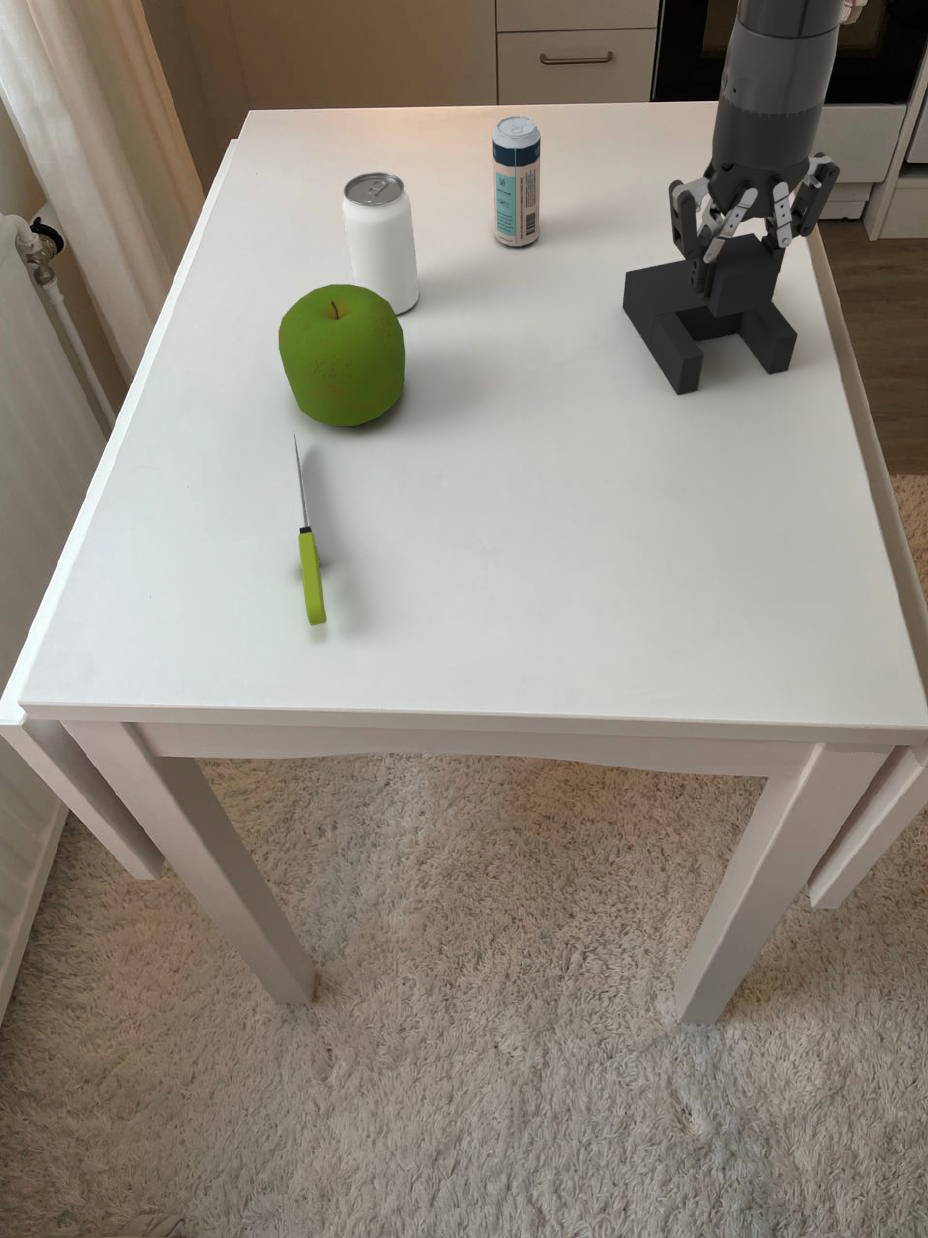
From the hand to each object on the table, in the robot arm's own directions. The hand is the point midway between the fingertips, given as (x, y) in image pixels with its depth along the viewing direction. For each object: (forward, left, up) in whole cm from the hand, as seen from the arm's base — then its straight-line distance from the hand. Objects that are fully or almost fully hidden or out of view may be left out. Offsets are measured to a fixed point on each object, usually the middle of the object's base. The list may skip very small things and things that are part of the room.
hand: (732, 286), depth 83 cm
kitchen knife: (+25, +34, -8) cm, 43 cm away
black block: (0, 0, -1) cm, 1 cm away
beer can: (+26, -12, -8) cm, 30 cm away
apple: (+30, +18, -8) cm, 35 cm away
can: (+34, +3, -8) cm, 35 cm away
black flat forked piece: (+2, -3, -8) cm, 9 cm away
